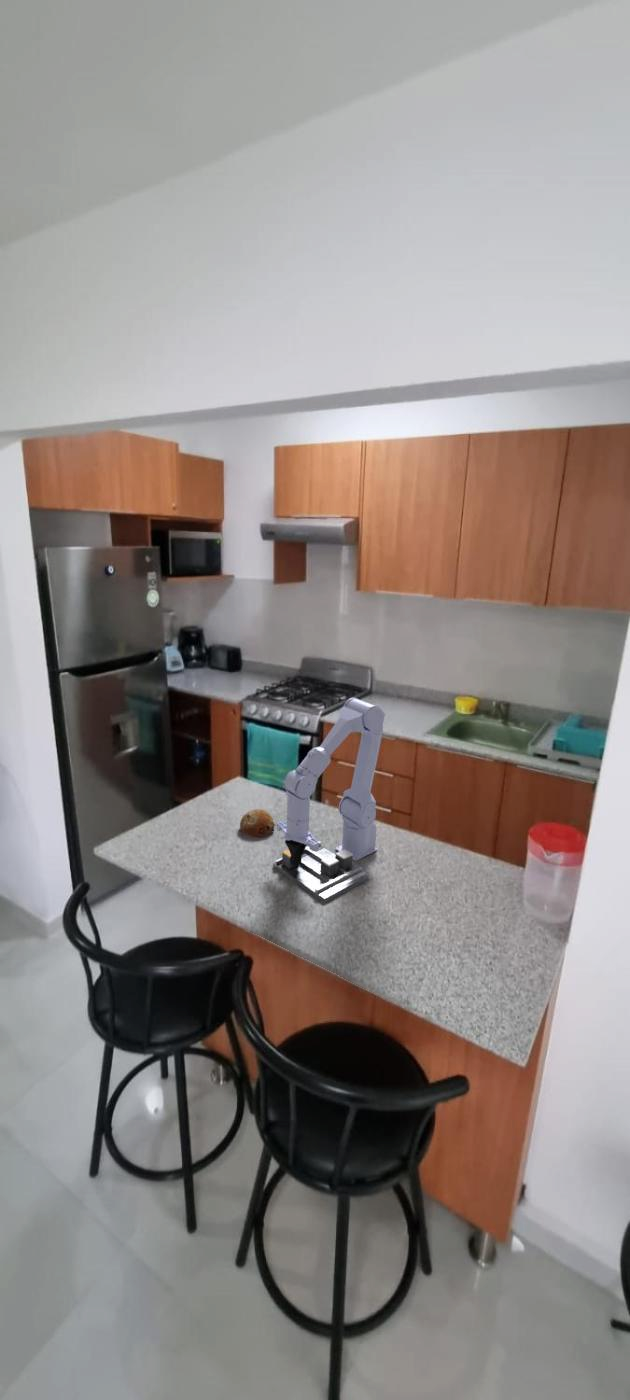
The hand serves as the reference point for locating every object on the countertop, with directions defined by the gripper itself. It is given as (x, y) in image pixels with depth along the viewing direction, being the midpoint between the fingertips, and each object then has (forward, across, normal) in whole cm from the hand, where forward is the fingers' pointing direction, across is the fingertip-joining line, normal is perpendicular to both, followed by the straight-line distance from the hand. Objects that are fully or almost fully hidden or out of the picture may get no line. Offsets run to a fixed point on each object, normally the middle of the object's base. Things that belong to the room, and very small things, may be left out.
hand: (296, 863), depth 146 cm
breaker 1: (+1, +7, +5) cm, 9 cm away
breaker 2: (+1, +7, +10) cm, 13 cm away
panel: (+3, +4, +5) cm, 7 cm away
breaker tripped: (+1, -2, 0) cm, 3 cm away
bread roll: (+3, -25, +6) cm, 26 cm away
